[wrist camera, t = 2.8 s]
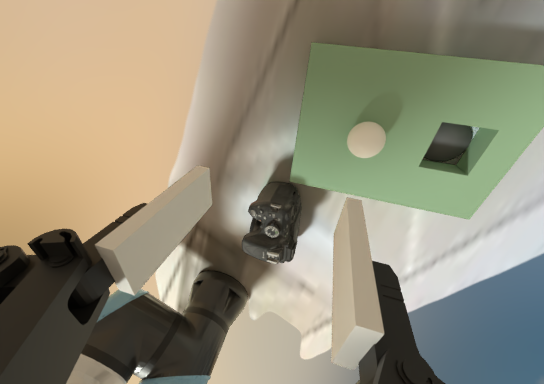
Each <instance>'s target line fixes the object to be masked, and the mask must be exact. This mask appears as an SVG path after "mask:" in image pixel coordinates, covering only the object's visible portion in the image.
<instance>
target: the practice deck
mask: <svg viewBox="0 0 544 384" xmlns="http://www.w3.org/2000/svg"><path fill="white" fill-rule="evenodd" d="M362 122H374V123H377V124H379V125H380V126H381V127H382V128H383V129H384V131H385V134H386V142H385V145H384V147H383V149H382V150H381V151H380V152H379V153H378V154H377V155H375V156H373V157H370V158H360V157H357V156H355V155H353V154H352V153H351V152H350V150H349V149H348V146H347V138H348V134H349V132H350V131H351V130H352V128H353V127H355V126H356V125H357V124H359V123H362ZM469 126H473V127H480V128H479V130H478V132H477V133H476V135H475V136H474V138H473V139H472V132H471V129H470V127H469ZM543 127H544V65H536V64H526V63H515V62H505V61H495V60H485V59H475V58H465V57H455V56H445V55H435V54H425V53H415V52H405V51H395V50H385V49H375V48H365V47H355V46H344V45H334V44H324V43H314V42H312V44H311V50H310V56H309V62H308V69H307V75H306V81H305V87H304V94H303V100H302V106H301V112H300V119H299V125H298V131H297V137H296V144H295V150H294V156H293V163H292V169H291V175H290V181H289V182H294V183H298V184H303V185H308V186H312V187H317V188H322V189H327V190H331V191H336V192H341V193H346V194H350V195H355V196H360V197H365V198H369V199H374V200H379V201H384V202H388V203H393V204H398V205H403V206H407V207H412V208H417V209H422V210H426V211H431V212H436V213H441V214H445V215H450V216H455V217H460V218H464V219H470V218H471V217H472V215H473V214H474V213H475V212H476V210H477V209H478V208H479V207H480V205H481V204H482V203H483V202H484V200H485V199H486V198H487V197H488V195H489V194H490V193H491V192H492V190H493V189H494V188H495V187H496V185H497V184H498V183H499V182H500V180H501V179H502V178H503V177H504V175H505V174H506V173H507V172H508V170H509V169H510V168H511V167H512V166H513V164H514V163H515V162H516V161H517V159H518V158H519V157H520V156H521V154H522V153H523V152H524V151H525V149H526V148H527V147H528V146H529V144H530V143H531V142H532V141H533V139H534V138H535V137H536V136H537V134H538V133H539V132H540V131H541V129H542V128H543ZM471 139H472V141H471ZM470 142H471V143H470ZM464 151H465V152H464ZM463 152H464V154H463V155H462V157H461V158H460V160H459V161H458V163H457V164H456V165H452V164H447V163H441V162H435V161H447V160H450V159H453V158H455V157H457V156H459V155H460V154H461V153H463ZM424 156H425V157H426V158H427V159H429V160H424V159H423V157H424ZM430 160H432V161H430Z"/></svg>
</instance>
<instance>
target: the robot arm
mask: <svg viewBox="0 0 544 384" xmlns="http://www.w3.org/2000/svg"><path fill="white" fill-rule="evenodd" d="M211 206H212V194H211V181H210V169H209V168H207V167H203V166H196V167H195V168H194V169H193V170H191V171H190V172H189V173H187V174H186V175H185V176H183V177H182V178H181V179H180V180H178V181H177V182H176V183H174V184H173V185H172V186H170V187H169V188H168V189H167V190H165V191H164V192H163V193H161V194H160V195H159V196H157V197H156V198H155V199H154V200H152V201H151V202H150V203H148V204H146V203H143V204H140V205H138V206H135V207H133V208H131V209H130V210H129V211H127V212H126V213H124V214H123V216H120V217H119V218H118V219H116V220H115V222H112V223H111V224H109V225H108V226H107V227H105V228H104V229H103V230H101V231H100V232H98V233H97V234H96V235H94V236H93V237H92V238H90V239H89V240H88V241H86V242H85V243H83V244H82V242H81V240H80V239H79V237H78V235H77V234H76V232H75V231H73V230H71V229H59V230H53V231H50V232H47V233H44V234H42V235H40V236H38V237H36V238H34V239H33V240H32V241H30V242H29V243H28V245H29V246H30V248H31V249H32V250H33V251H34V253H35V254H36V255H26V254H25V252H24V251H23V250H22V249H21V248H20V247H18V246H4V247H0V384H126V383H127V382H128V380H129V379H130V377H131V376H132V374H134V375H136V376H138V377H140V378H141V379H142V380H141V381H140V382H139V384H207V382H208V380H209V379H210V375H211V373H212V370H213V368H214V365H215V363H216V360H217V358H218V355H219V352H220V350H221V347H222V345H223V342H224V340H225V337H226V334H227V332H228V330H229V327H230V326H231V325H232V323H233V322H234V321H235V320H236V318H237V317H238V316H239V314H240V313H241V312H242V310H243V309H244V307H245V305H246V302H247V299H248V295H247V292H246V290H245V289H244V287H243V286H242V285H241V284H240V283H239V282H238V281H236V280H235V279H233V278H232V277H230V276H228V275H226V274H223V273H220V272H216V271H204V272H202V273H200V274H199V275H198V276H197V278H196V279H195V281H194V283H193V285H192V289H191V293H190V296H189V300H188V304H187V307H186V308H185V310H184V312H183V313H182V314H180V313H178V312H177V311H175V310H174V309H172V308H171V307H169V306H168V305H166V304H165V303H163V302H161V301H160V300H158V299H156V298H155V297H154V296H152V295H151V294H149V292H148V291H144V290H142V289H141V288H142V287H143V285H144V284H145V283H146V282H147V280H149V278H150V277H151V276H152V275H153V274H154V272H155V271H156V270H157V269H158V268H159V267H160V265H161V264H162V263H163V262H164V261H165V260H166V258H167V257H168V256H169V255H170V254H171V253H172V251H173V250H174V249H175V248H176V247H177V246H178V244H179V243H180V242H181V241H182V240H183V238H184V237H185V236H186V235H187V234H188V233H189V231H190V230H191V229H192V228H193V227H194V226H195V224H196V223H197V222H198V221H199V220H200V219H201V217H202V216H203V215H204V214H205V213H206V212H207V210H208V209H209V208H210V207H211ZM114 282H115V283H116V285H117V287H118V290H117V291H116V292H114V293H113V294H112V295H110V296H109V294H110V292H109V287H110V286H111V285H112V284H113V283H114ZM331 356H332V357H331V358H332V359H331V362H332V363H334V364H336V365H339V366H342V367H346V368H348V369H351V370H354V369H355V368H356V367H357V366H358V365H359V374H360V380H359V381H358V382H357V383H356V384H445V383H444V382H442V381H441V380H440V379H438V378H437V376H436V375H435V374H434V372H433V370H432V369H431V368H430V366H429V365H428V364H427V362H426V361H425V360H424V359H423V358H422V357H421V356H420V354H419V351H418V349H417V346H416V343H415V339H414V335H413V332H412V328H411V325H410V321H409V317H408V314H407V310H406V306H405V303H404V299H403V296H402V292H401V288H400V285H399V281H398V277H397V276H396V274H395V273H394V271H393V270H392V269H391V267H390V266H389V265H387V264H383V263H379V262H375V261H372V259H371V253H370V247H369V241H368V235H367V229H366V224H365V218H364V212H363V206H362V200H357V199H352V198H348V197H347V198H346V201H345V204H344V207H343V209H342V212H341V215H340V218H339V221H338V224H337V226H336V229H335V232H334V249H333V302H332V355H331Z"/></svg>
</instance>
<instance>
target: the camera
mask: <svg viewBox="0 0 544 384" xmlns="http://www.w3.org/2000/svg"><path fill="white" fill-rule="evenodd" d="M248 212H249V213H250V215H251V216H252V217H253V219H252V223H251V226H250V233H248V234H246V235H245V236H244V238H243V240H242V249H243V251H244V252H245V253H247V254H248V255H251V256H253V257H255V258H257V259H259V260H262V261H265V262H268V263H274V264H278V262H280V263H284V262H285V261H287V262H290V261H291V260H292V259H293V257H294V254H295V249H296V245H297V236H298V229H299V222H300V214H301V203H300V196H299V194H298V190H297V189H296V188H295V187H294V186H293V185H291V184H289V183H283V182H274V183H269V184H267V185H266V186H265V187H264V188H263V190H262V191H261V193H260V194H259V196H258V199H257V200H256V201H255V202H253V203H251V205H250V207H249V210H248Z"/></svg>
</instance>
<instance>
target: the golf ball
mask: <svg viewBox="0 0 544 384" xmlns="http://www.w3.org/2000/svg"><path fill="white" fill-rule="evenodd" d="M385 142H386V134H385V131H384V129H383V128H382V127H381V126H380V125H379V124H377V123H374V122H362V123H359V124H357V125H356V126H355V127H353V128H352V130H351V131H350V132H349V134H348V138H347V146H348V149H349V150H350V152H351V153H352V154H353V155H355V156H357V157H360V158H370V157H373V156H375V155H377V154H378V153H379V152H380V151H381V150H382V149H383V147H384V145H385Z"/></svg>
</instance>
